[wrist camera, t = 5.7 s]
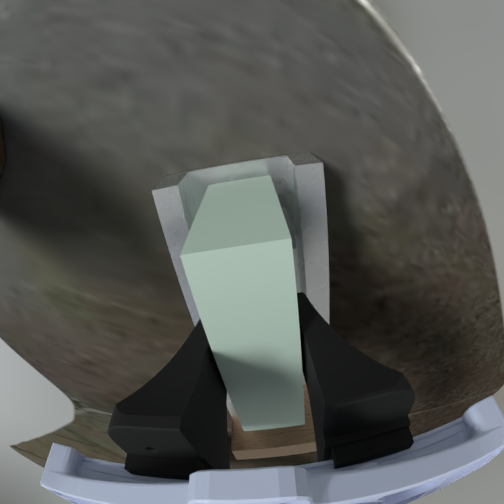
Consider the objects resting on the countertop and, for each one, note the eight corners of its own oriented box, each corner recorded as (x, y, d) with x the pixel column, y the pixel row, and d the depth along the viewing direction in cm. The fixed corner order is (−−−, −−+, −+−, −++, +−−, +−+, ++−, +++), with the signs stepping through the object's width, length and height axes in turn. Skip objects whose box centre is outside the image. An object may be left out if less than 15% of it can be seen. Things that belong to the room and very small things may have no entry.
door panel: (294, 329, 19) (311, 423, 12) (243, 336, 19) (243, 431, 13) (276, 174, 14) (302, 236, 8) (208, 185, 14) (180, 255, 8)
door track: (319, 390, 24) (331, 448, 18) (237, 401, 24) (236, 459, 19) (308, 151, 14) (345, 181, 9) (167, 175, 15) (126, 217, 9)
